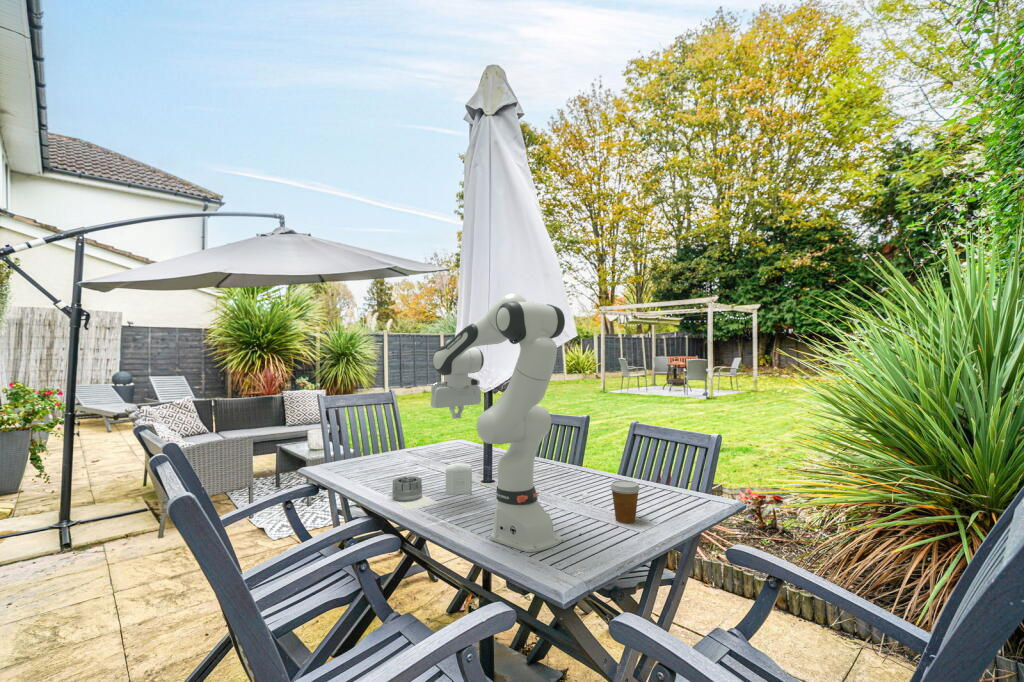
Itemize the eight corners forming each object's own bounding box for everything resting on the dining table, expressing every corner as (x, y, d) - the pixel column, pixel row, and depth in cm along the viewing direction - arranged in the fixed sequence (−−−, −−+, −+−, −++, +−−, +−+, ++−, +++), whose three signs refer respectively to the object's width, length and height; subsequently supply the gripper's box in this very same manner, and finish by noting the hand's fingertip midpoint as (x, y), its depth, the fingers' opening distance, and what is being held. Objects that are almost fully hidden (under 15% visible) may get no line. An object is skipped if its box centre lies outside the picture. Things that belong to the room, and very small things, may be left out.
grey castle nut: (427, 497, 183) (427, 480, 183) (400, 503, 176) (400, 485, 176) (414, 491, 191) (414, 474, 192) (387, 496, 185) (387, 479, 185)
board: (438, 505, 177) (438, 502, 177) (408, 512, 169) (408, 509, 169) (415, 493, 192) (415, 491, 192) (386, 499, 184) (386, 497, 184)
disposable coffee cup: (608, 515, 165) (608, 479, 165) (637, 515, 164) (636, 479, 165) (612, 525, 156) (612, 487, 156) (643, 525, 155) (642, 487, 155)
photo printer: (471, 492, 192) (471, 461, 193) (472, 496, 188) (472, 464, 188) (445, 494, 191) (445, 462, 191) (445, 497, 187) (445, 465, 187)
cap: (416, 487, 183) (416, 477, 183) (404, 489, 180) (404, 480, 180) (410, 484, 187) (410, 475, 187) (398, 486, 184) (398, 477, 184)
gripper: (435, 383, 173) (436, 422, 173) (483, 380, 185) (483, 416, 185) (427, 382, 178) (427, 420, 178) (474, 379, 190) (474, 415, 190)
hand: (456, 418), depth 182 cm, fingers closed
